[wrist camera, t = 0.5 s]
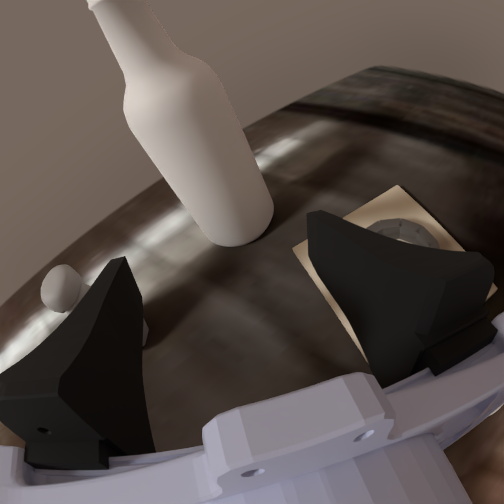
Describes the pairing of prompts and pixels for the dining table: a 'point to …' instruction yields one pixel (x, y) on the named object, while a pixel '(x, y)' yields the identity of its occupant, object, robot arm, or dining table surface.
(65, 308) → the salt shaker
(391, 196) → the stand
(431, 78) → the dining table surface
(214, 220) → the alcohol
